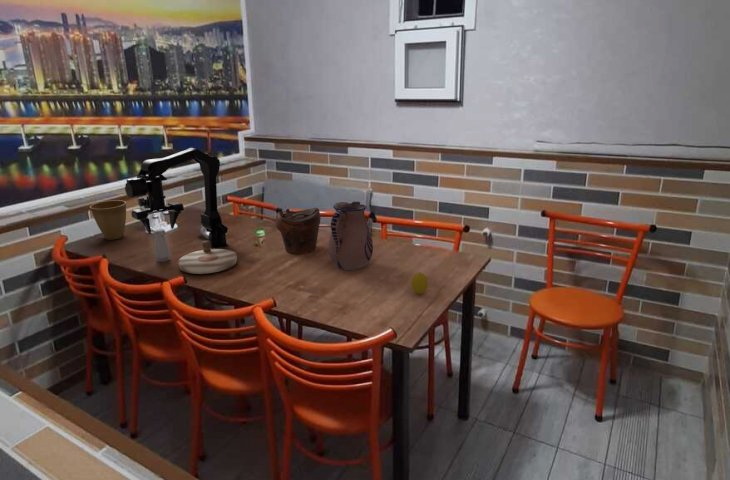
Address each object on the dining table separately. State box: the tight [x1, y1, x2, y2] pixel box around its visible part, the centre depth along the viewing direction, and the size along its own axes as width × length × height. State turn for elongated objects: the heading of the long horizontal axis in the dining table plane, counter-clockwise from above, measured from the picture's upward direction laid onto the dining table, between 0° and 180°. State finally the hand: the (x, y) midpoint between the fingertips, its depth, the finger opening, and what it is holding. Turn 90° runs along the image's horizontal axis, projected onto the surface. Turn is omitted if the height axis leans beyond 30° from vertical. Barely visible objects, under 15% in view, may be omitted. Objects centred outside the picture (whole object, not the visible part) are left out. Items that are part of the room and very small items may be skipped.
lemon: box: [411, 272, 429, 295], centre depth 170 cm, size 6×6×8 cm
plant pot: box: [89, 199, 127, 241], centre depth 231 cm, size 15×15×16 cm
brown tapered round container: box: [275, 207, 322, 255], centre depth 213 cm, size 18×20×18 cm
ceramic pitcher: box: [327, 201, 374, 271], centre depth 191 cm, size 18×21×25 cm
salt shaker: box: [153, 228, 171, 263], centre depth 202 cm, size 6×6×13 cm
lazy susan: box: [178, 240, 238, 275], centre depth 197 cm, size 22×22×6 cm
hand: (161, 231), depth 199 cm, fingers open, 9 cm apart
